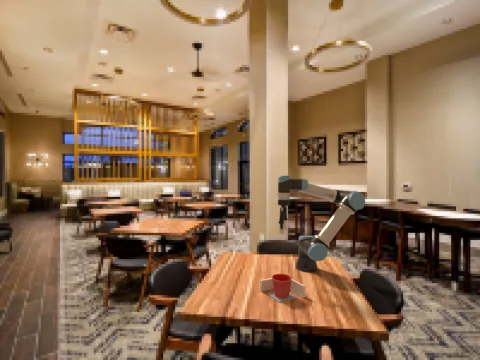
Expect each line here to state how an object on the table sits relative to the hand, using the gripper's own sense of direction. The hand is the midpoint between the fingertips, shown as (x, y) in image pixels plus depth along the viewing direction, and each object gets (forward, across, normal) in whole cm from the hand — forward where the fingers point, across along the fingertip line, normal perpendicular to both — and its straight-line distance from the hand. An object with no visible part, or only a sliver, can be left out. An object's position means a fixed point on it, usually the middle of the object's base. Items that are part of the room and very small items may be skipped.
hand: (283, 232), depth 170 cm
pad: (+29, +29, +4) cm, 41 cm away
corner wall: (+29, +27, +3) cm, 39 cm away
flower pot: (+29, +29, +4) cm, 41 cm away
